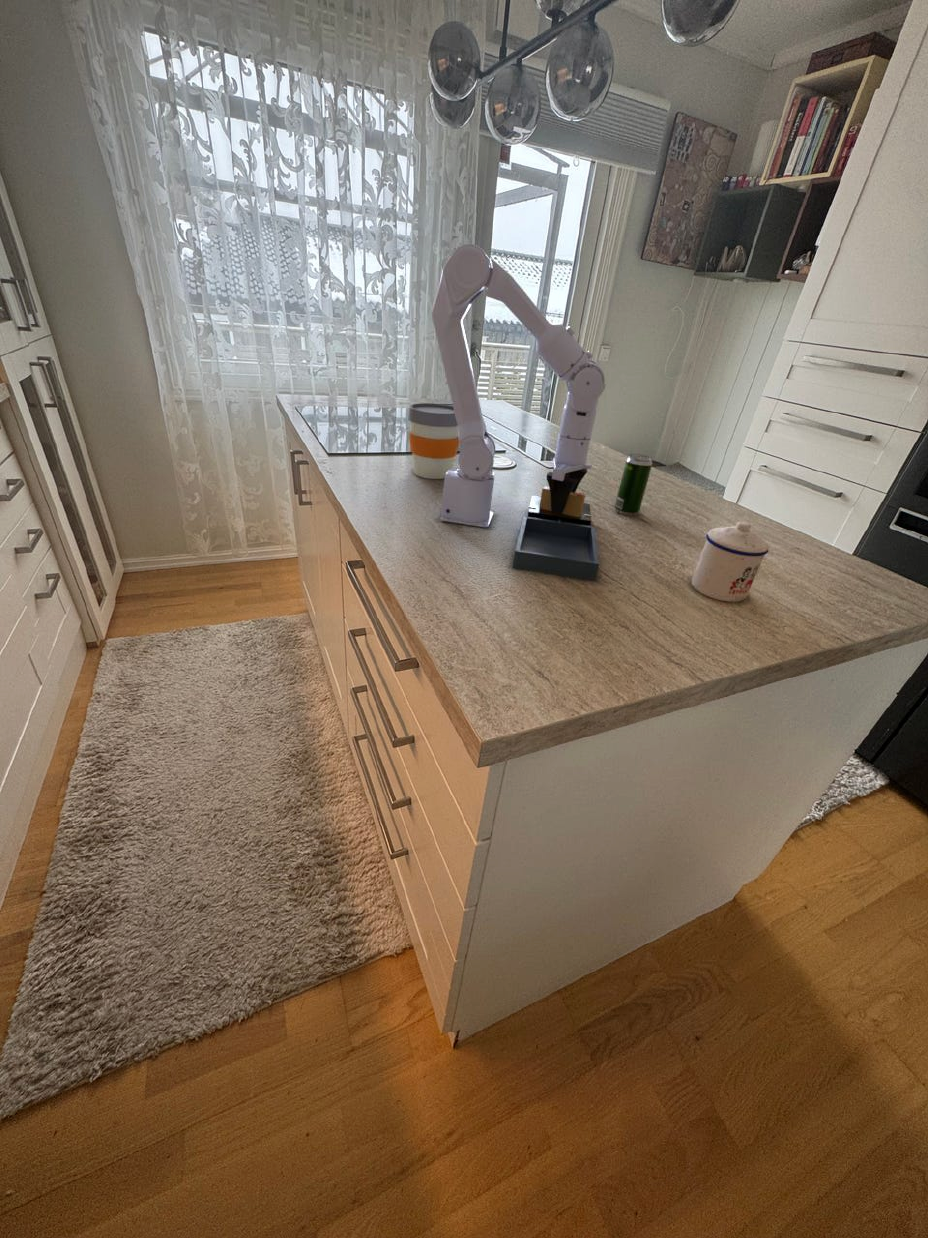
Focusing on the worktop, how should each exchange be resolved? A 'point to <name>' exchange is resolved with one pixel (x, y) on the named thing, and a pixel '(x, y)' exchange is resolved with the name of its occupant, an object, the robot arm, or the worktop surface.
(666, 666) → the worktop surface
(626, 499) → the beer can
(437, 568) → the worktop surface
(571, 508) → the yellow-brown long block
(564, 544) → the tray
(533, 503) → the black cupboard
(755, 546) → the teacup with lid
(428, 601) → the worktop surface
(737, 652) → the worktop surface
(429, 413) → the reusable coffee cup
